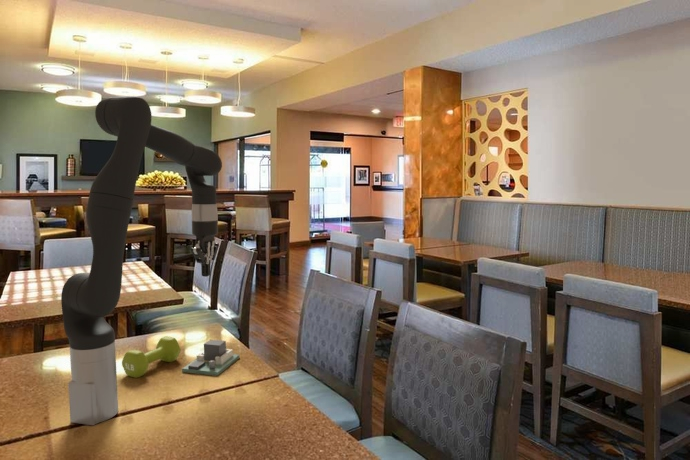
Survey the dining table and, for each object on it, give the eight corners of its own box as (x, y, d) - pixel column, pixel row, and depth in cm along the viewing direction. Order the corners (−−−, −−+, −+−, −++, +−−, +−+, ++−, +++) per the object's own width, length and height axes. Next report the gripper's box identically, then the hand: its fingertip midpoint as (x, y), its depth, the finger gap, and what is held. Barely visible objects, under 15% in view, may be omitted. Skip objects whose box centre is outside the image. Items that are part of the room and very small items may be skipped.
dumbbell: (140, 381, 131) (139, 355, 131) (119, 376, 135) (118, 351, 134) (183, 360, 146) (182, 337, 145) (163, 356, 150) (162, 333, 149)
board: (217, 375, 135) (217, 365, 134) (182, 372, 137) (181, 361, 137) (239, 357, 148) (239, 348, 148) (207, 354, 151) (206, 345, 150)
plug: (219, 361, 142) (219, 345, 141) (202, 360, 143) (202, 343, 143) (226, 357, 146) (225, 340, 145) (209, 355, 147) (209, 339, 147)
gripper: (204, 221, 138) (206, 281, 139) (226, 217, 150) (227, 272, 152) (181, 220, 139) (182, 279, 141) (204, 217, 152) (206, 271, 154)
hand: (206, 275), depth 147 cm, fingers closed
